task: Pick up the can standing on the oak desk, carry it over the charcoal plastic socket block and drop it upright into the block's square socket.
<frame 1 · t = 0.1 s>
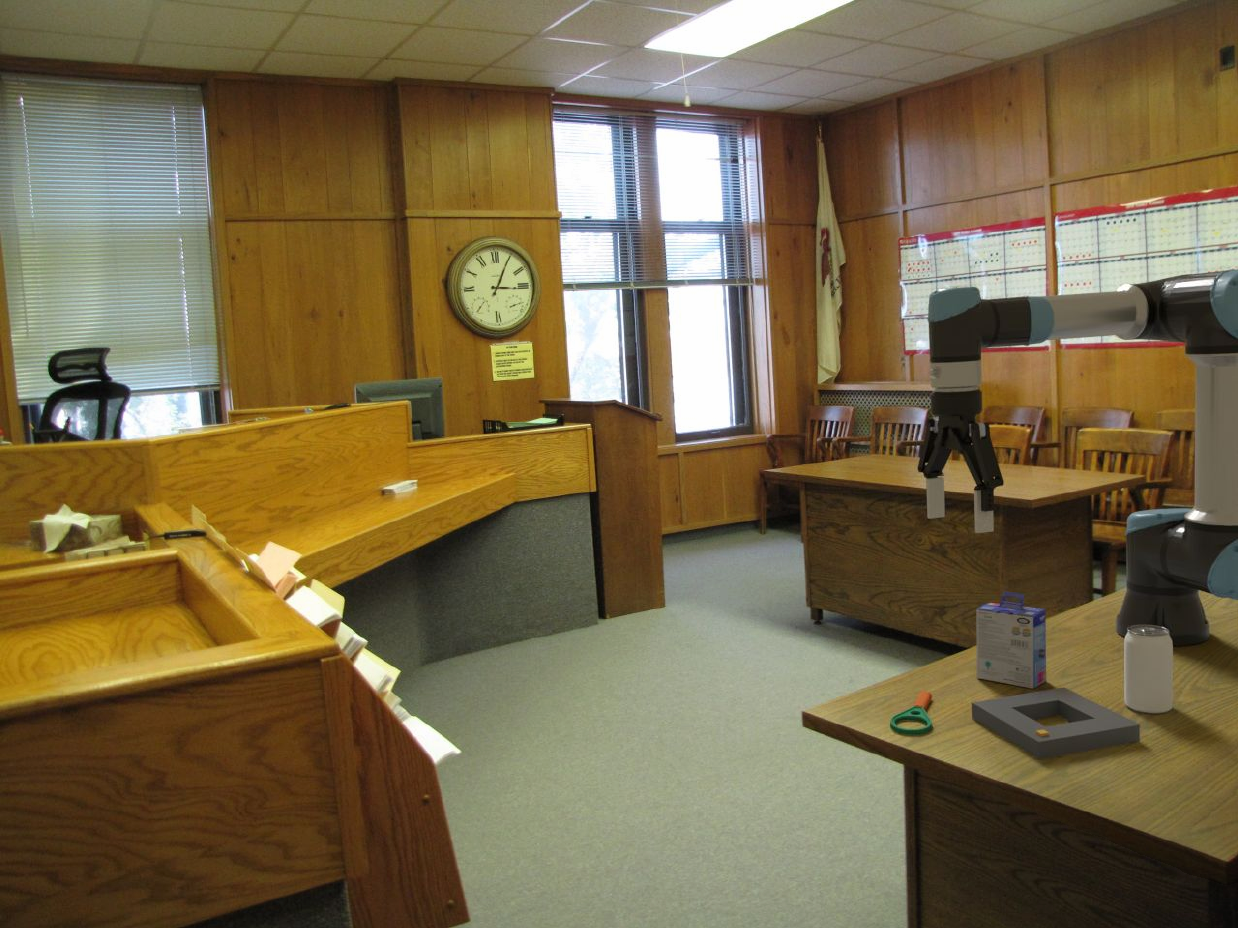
hand: (959, 524, 159), 28 cm above the table, fingers open, 13 cm apart
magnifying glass: (916, 719, 156), on the table
can: (1148, 708, 153), on the table
socket block: (1052, 729, 147), on the table
ink cartridge box: (1011, 680, 168), on the table
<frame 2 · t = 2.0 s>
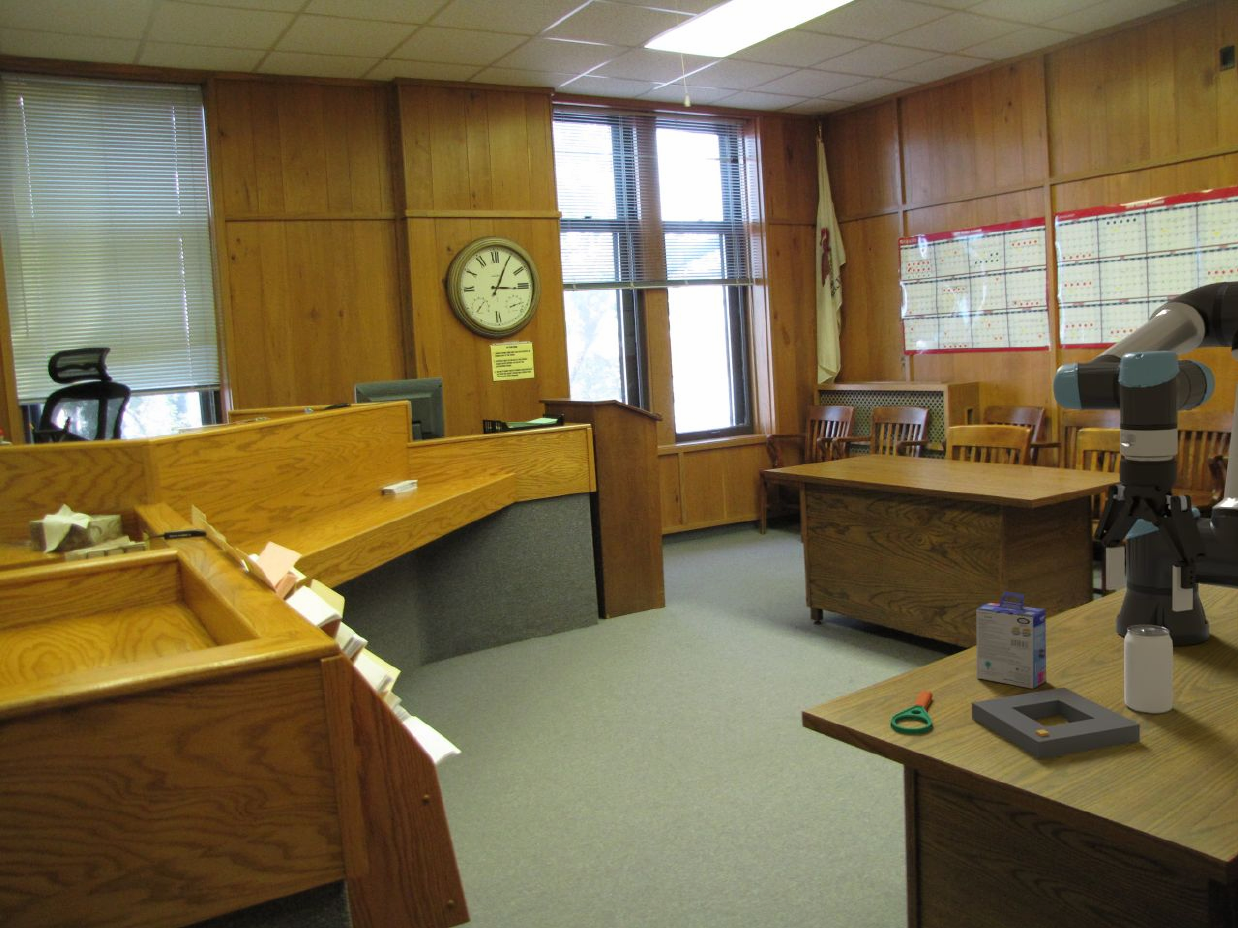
hand: (1147, 598, 151), 17 cm above the table, fingers open, 13 cm apart
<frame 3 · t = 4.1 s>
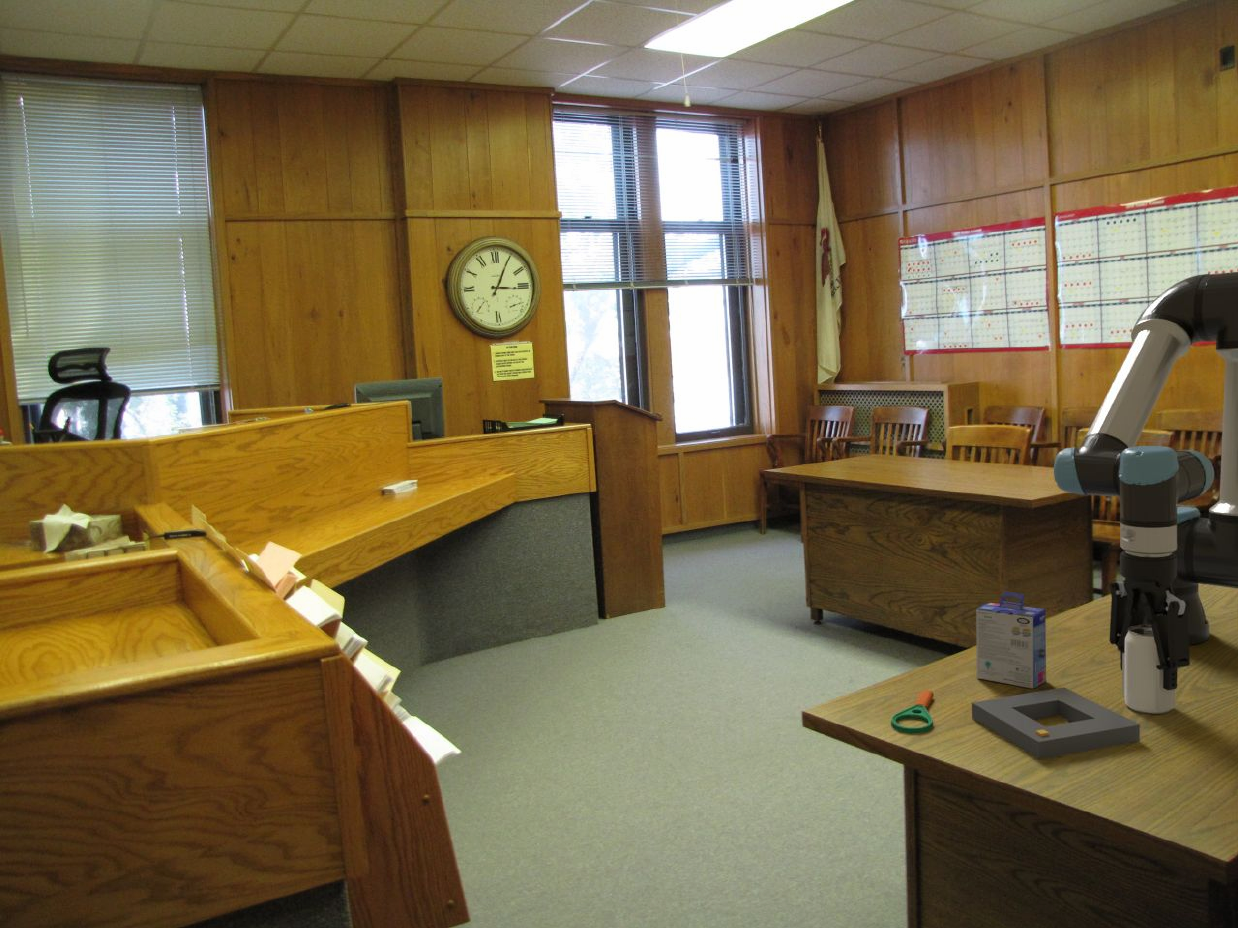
hand: (1147, 700, 153), 1 cm above the table, fingers closed on can, 6 cm apart
can: (1148, 708, 153), on the table, touching gripper
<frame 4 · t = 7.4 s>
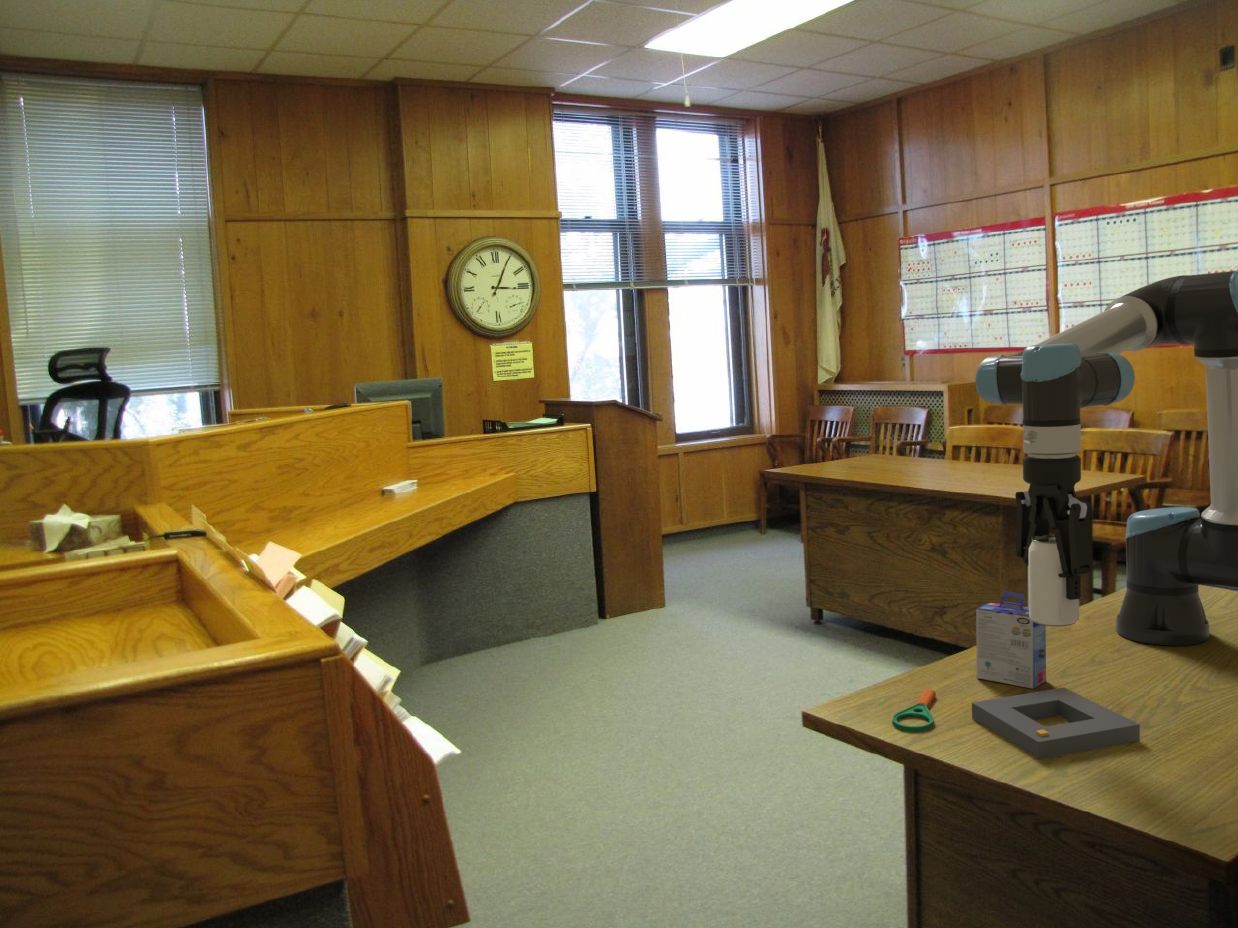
hand: (1052, 614, 145), 17 cm above the table, fingers closed on can, 6 cm apart
can: (1053, 622, 145), point 16 cm above the table, touching gripper
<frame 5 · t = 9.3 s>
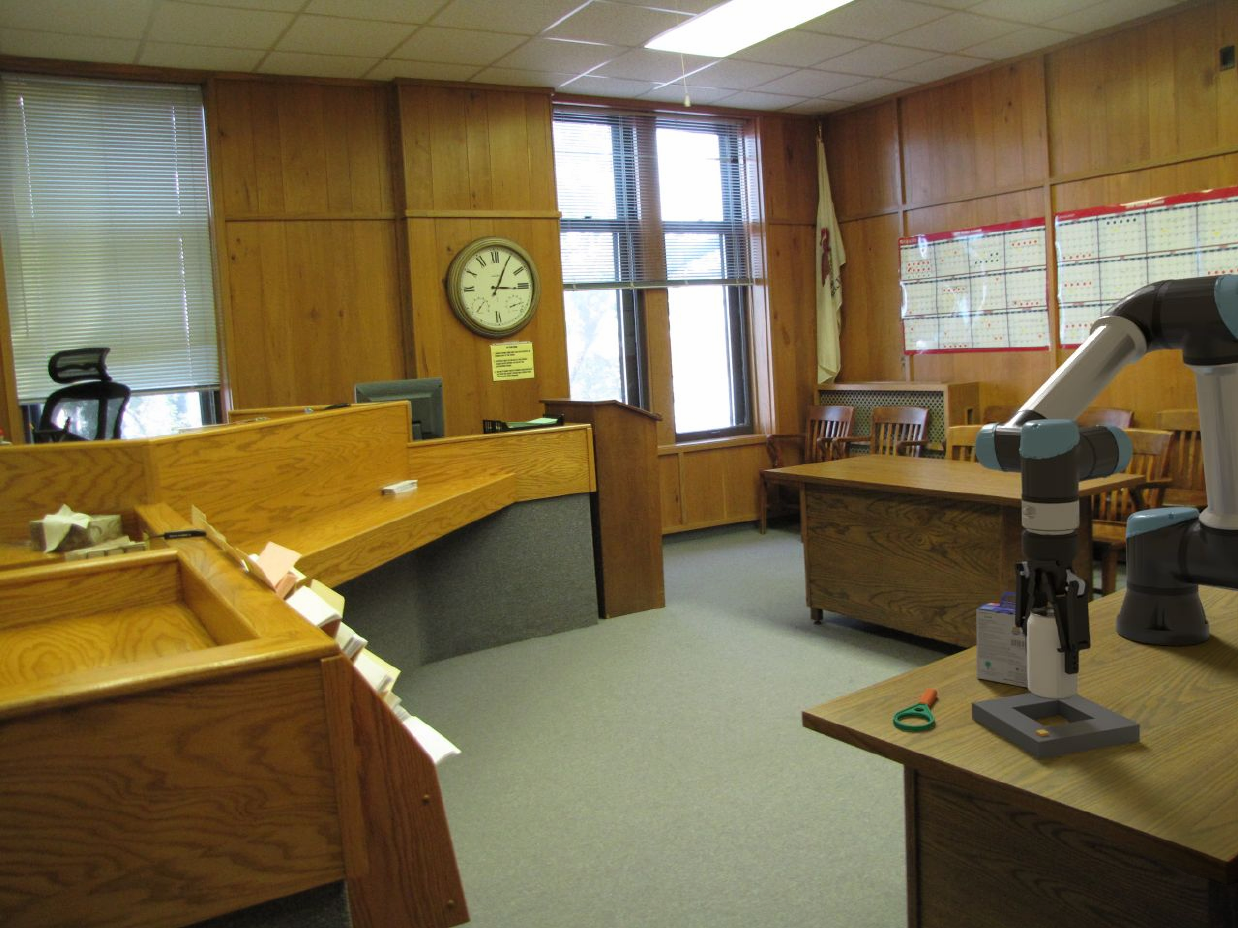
hand: (1051, 685, 147), 7 cm above the table, fingers closed on can, 6 cm apart
can: (1052, 693, 147), point 5 cm above the table, touching gripper
when the fingers open (4 cm above the table, at t = 10.6 s): can drops 3 cm, resting in socket block.
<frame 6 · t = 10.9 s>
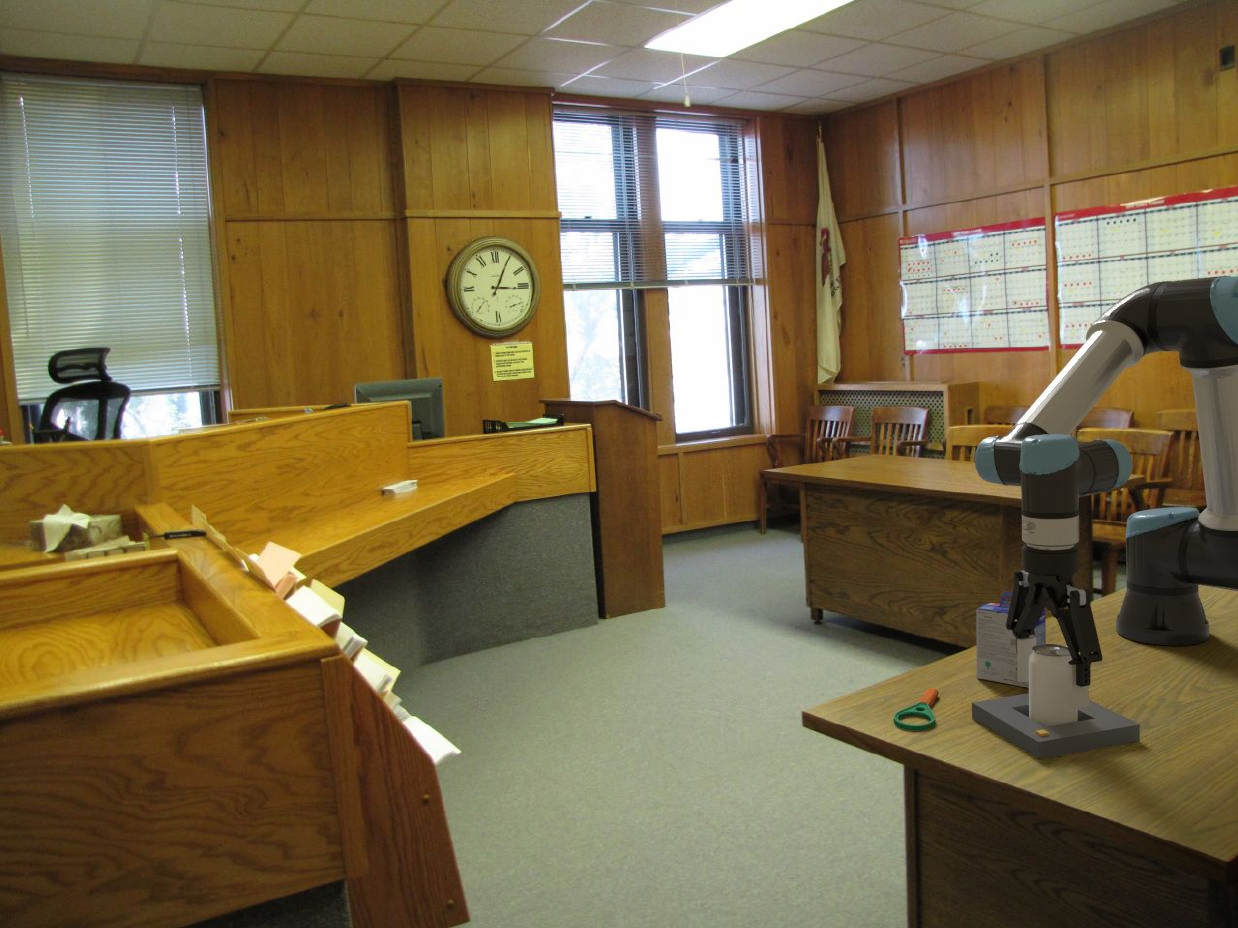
hand: (1052, 693, 147), 5 cm above the table, fingers open, 11 cm apart
can: (1053, 730, 147), resting in socket block
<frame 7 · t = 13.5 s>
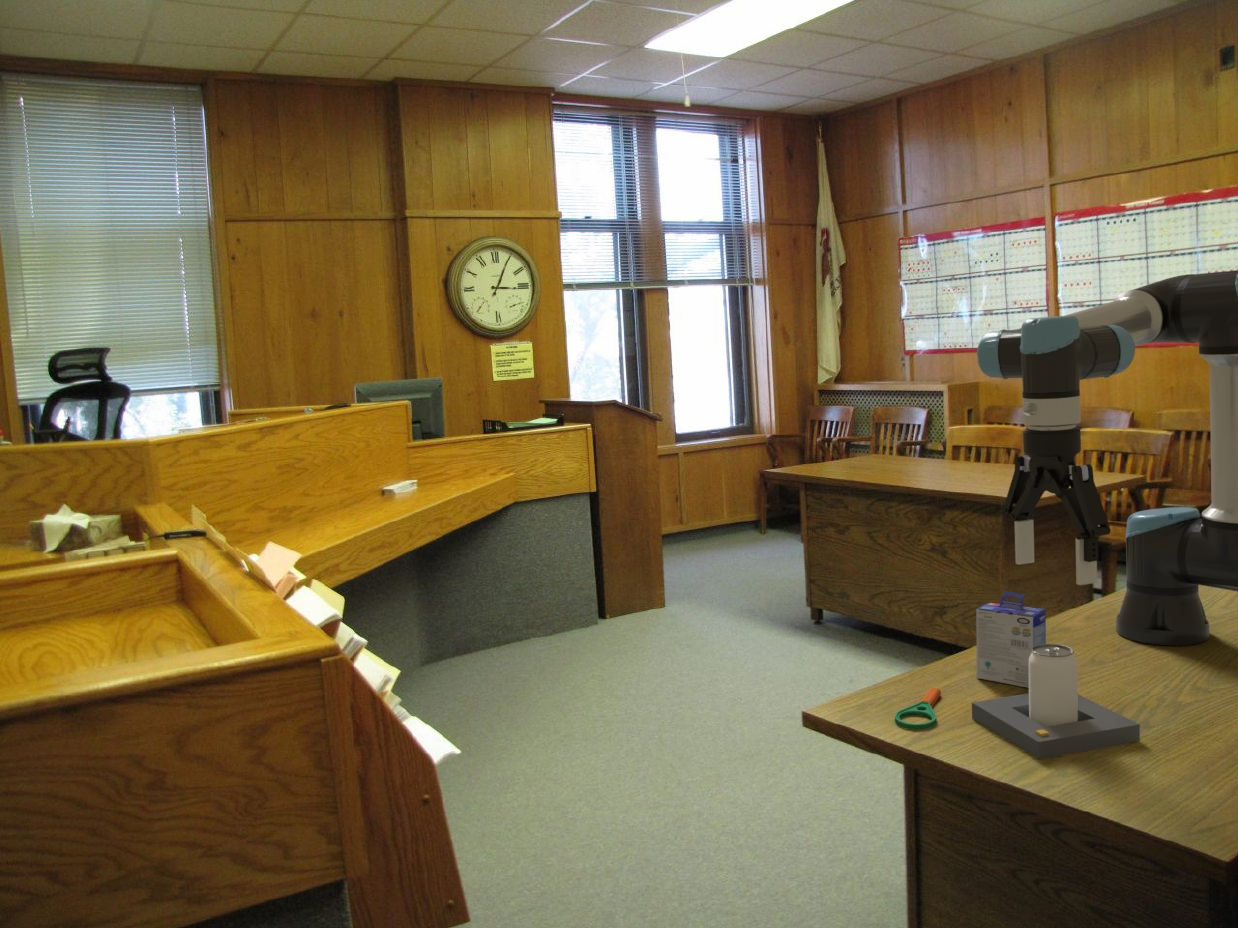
hand: (1054, 573, 146), 23 cm above the table, fingers open, 13 cm apart
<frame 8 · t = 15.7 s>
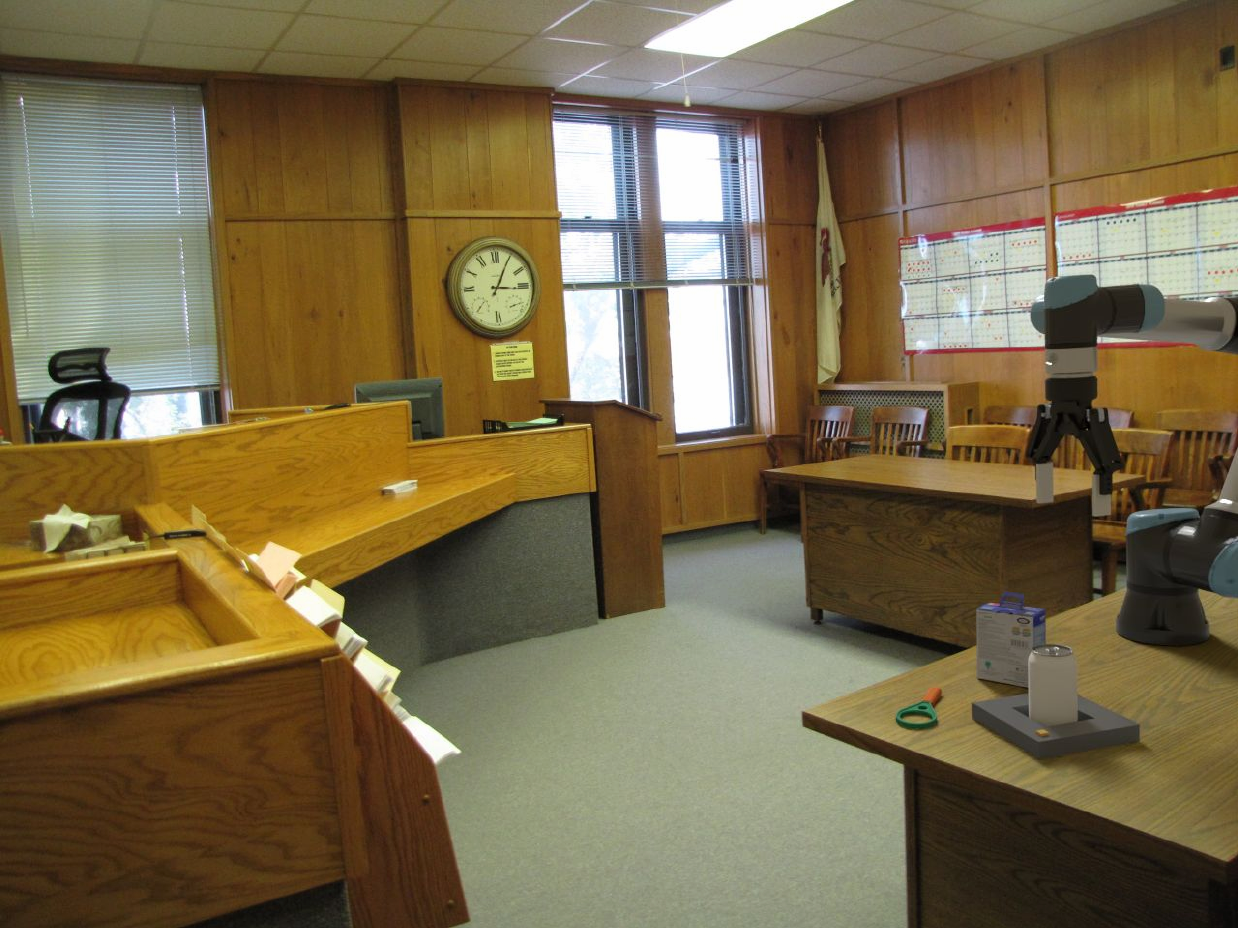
hand: (1072, 508, 162), 29 cm above the table, fingers open, 13 cm apart
at the end: can 0.1 cm off-centre on the socket block, point 0.0 cm above the socket block's base; can tilted 0°; the gripper is holding nothing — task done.
